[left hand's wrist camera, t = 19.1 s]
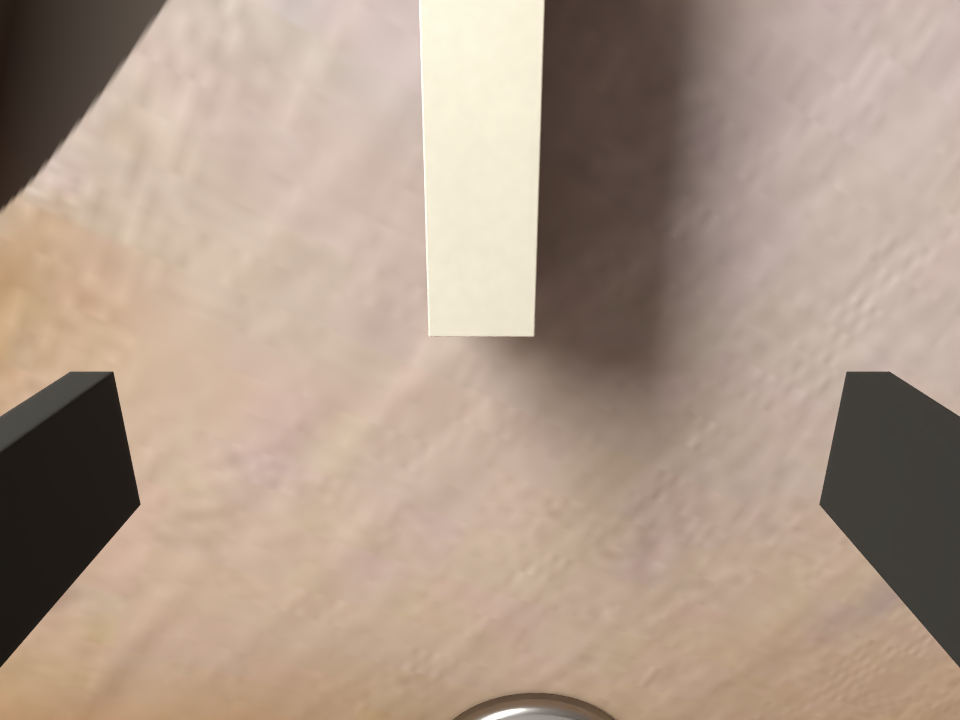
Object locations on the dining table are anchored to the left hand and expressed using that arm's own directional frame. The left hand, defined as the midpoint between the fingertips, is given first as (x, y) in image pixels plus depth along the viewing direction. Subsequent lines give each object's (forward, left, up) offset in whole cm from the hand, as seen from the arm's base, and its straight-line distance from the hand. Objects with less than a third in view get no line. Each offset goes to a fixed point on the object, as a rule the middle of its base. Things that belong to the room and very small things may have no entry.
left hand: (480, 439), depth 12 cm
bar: (+5, +7, -24) cm, 26 cm away
